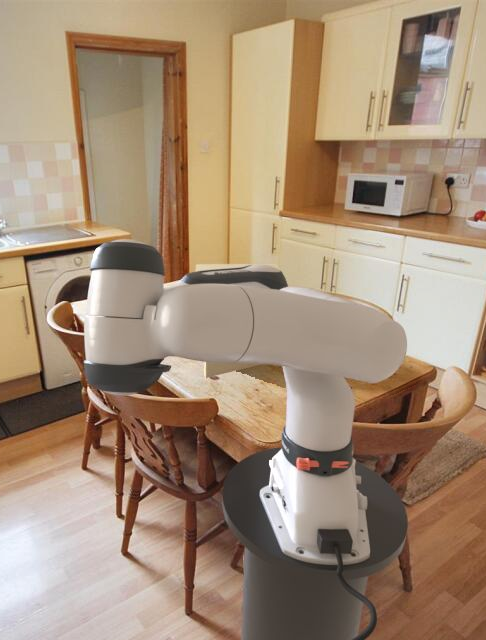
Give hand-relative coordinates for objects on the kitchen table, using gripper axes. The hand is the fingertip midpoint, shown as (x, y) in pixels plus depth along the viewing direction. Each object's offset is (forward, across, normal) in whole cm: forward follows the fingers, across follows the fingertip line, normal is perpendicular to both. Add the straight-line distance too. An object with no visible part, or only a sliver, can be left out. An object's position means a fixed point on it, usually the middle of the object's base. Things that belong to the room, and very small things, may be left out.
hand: (227, 304), depth 121 cm
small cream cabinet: (+21, -18, +23) cm, 36 cm away
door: (+3, -11, +23) cm, 26 cm away
